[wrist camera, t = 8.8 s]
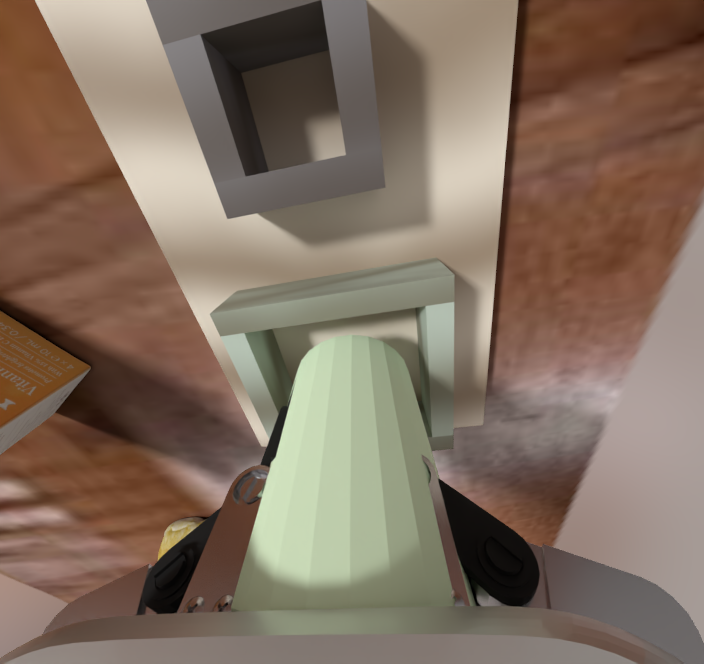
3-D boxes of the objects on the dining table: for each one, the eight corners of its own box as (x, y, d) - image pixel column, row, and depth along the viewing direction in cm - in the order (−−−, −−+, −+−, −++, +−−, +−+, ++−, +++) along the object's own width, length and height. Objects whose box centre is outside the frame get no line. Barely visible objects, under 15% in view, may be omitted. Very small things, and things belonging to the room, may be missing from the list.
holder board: (25, -69, 8) (-187, -230, 5) (519, -246, 6) (665, -644, 3) (266, 434, 18) (247, 484, 15) (476, 412, 17) (502, 463, 14)
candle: (388, 427, 13) (428, 704, 6) (290, 409, 13) (213, 695, 6) (425, 346, 11) (557, 653, 4) (306, 321, 10) (207, 627, 3)
